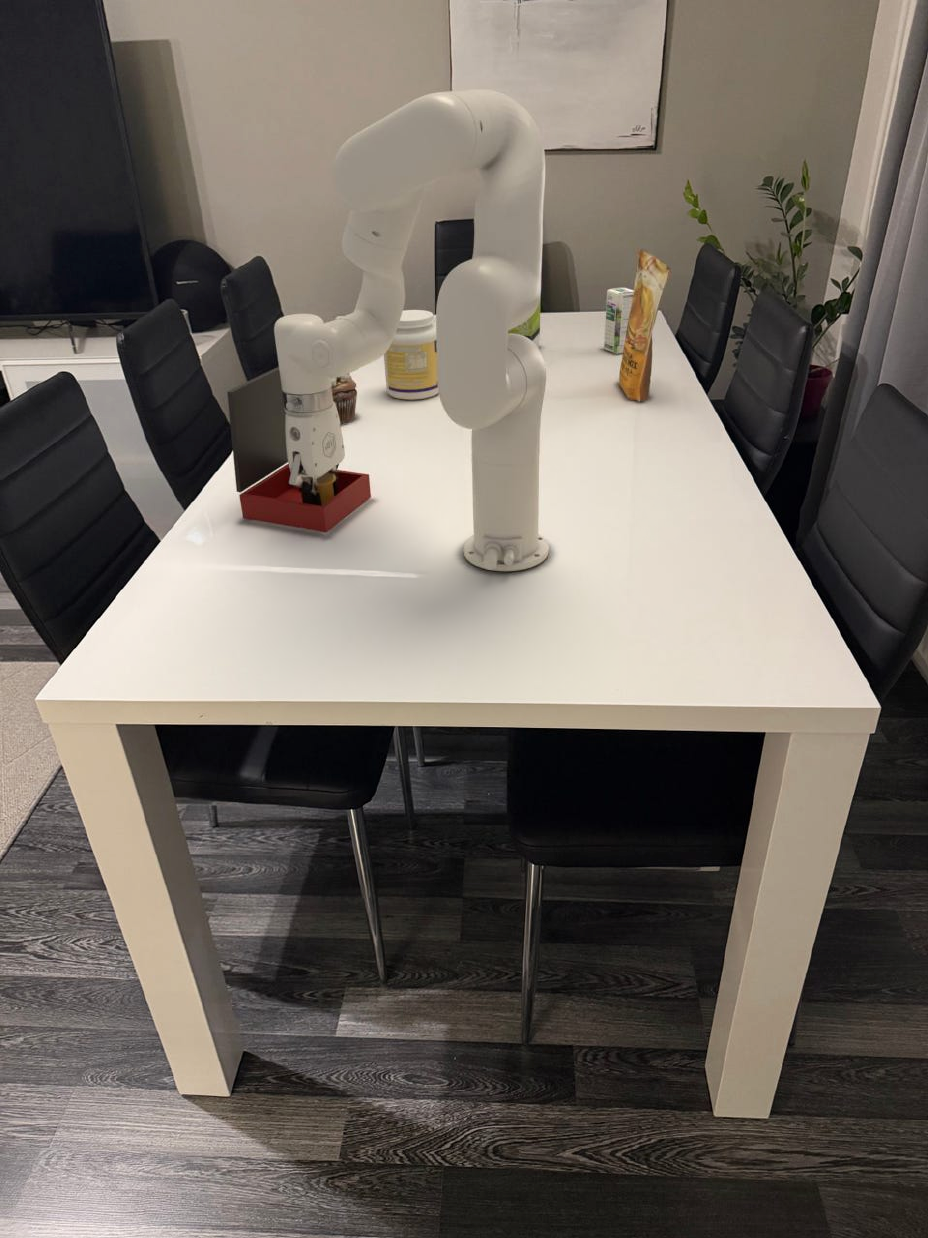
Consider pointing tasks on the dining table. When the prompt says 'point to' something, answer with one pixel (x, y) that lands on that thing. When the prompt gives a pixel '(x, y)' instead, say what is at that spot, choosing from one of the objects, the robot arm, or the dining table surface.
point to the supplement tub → (412, 357)
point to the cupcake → (344, 397)
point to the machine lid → (257, 428)
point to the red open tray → (285, 504)
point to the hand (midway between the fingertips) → (321, 507)
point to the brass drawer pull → (325, 486)
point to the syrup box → (617, 318)
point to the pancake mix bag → (642, 325)
